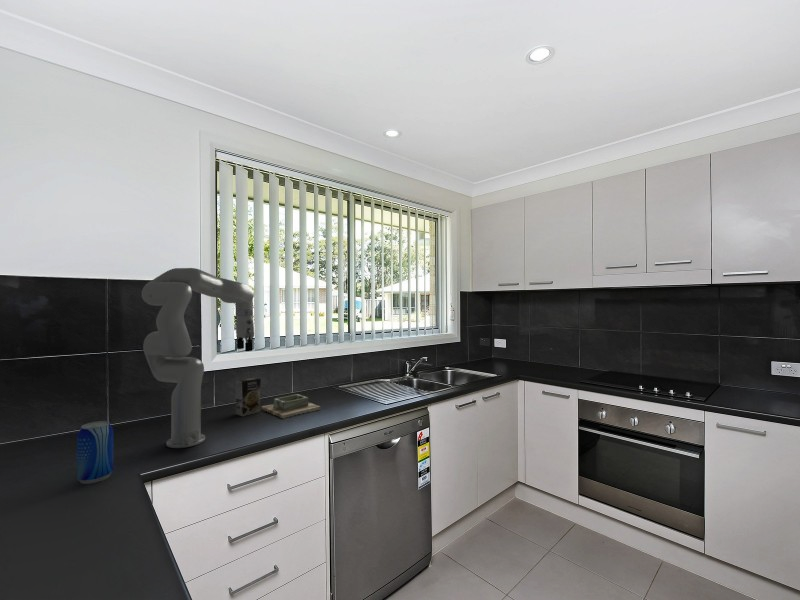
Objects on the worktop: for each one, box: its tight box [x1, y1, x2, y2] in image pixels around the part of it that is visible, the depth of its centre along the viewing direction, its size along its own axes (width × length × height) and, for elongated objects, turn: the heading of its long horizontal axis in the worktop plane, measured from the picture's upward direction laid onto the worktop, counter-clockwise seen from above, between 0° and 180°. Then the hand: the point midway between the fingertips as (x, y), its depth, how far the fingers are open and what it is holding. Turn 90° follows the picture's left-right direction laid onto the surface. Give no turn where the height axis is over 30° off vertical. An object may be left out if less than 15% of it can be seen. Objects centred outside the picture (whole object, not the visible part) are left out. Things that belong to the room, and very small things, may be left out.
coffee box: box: [235, 376, 262, 417], centre depth 176 cm, size 9×6×16 cm
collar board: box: [261, 393, 321, 419], centre depth 182 cm, size 20×20×6 cm
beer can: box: [76, 420, 114, 485], centre depth 112 cm, size 8×8×16 cm
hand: (244, 349), depth 176 cm, fingers open, 9 cm apart
